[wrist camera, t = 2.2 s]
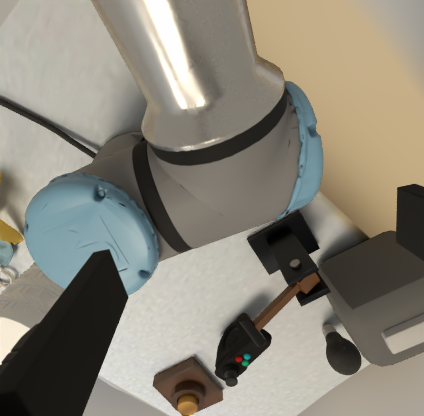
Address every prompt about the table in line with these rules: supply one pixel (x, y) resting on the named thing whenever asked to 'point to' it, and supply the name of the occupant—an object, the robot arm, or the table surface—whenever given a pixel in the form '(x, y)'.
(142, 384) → the table surface
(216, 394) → the switch block
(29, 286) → the decorative container
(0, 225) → the figurine
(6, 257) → the bow tie
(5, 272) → the key
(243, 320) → the lever
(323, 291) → the switch bracket
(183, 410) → the power button
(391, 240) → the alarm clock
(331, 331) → the light bulb
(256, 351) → the controller
